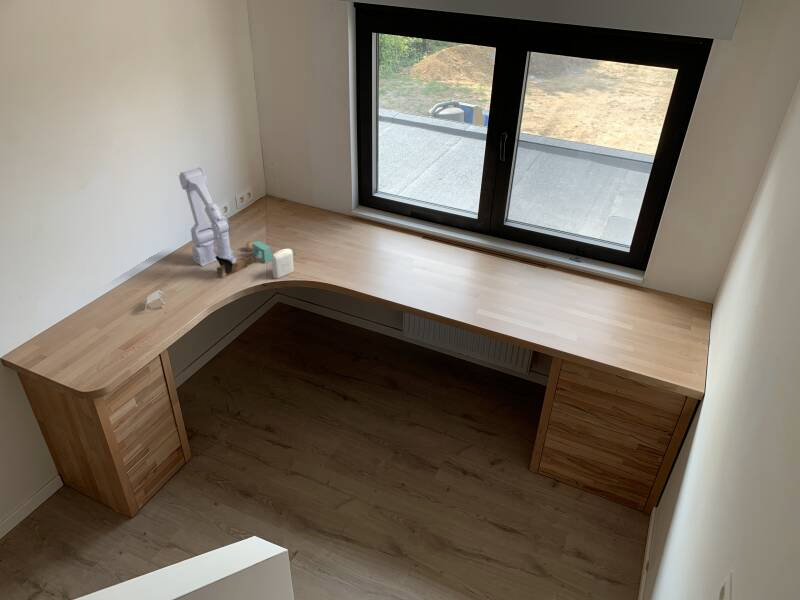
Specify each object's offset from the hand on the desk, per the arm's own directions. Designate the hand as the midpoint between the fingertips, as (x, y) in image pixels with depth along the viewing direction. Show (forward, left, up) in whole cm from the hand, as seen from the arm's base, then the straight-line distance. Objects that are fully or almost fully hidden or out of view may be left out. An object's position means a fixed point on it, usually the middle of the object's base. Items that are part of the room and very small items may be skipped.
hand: (226, 270), depth 281 cm
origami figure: (-35, 0, -2) cm, 35 cm away
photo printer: (+18, -18, -2) cm, 26 cm away
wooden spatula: (+5, 0, -1) cm, 5 cm away
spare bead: (+21, +10, -2) cm, 23 cm away
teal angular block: (+20, 0, -2) cm, 20 cm away
